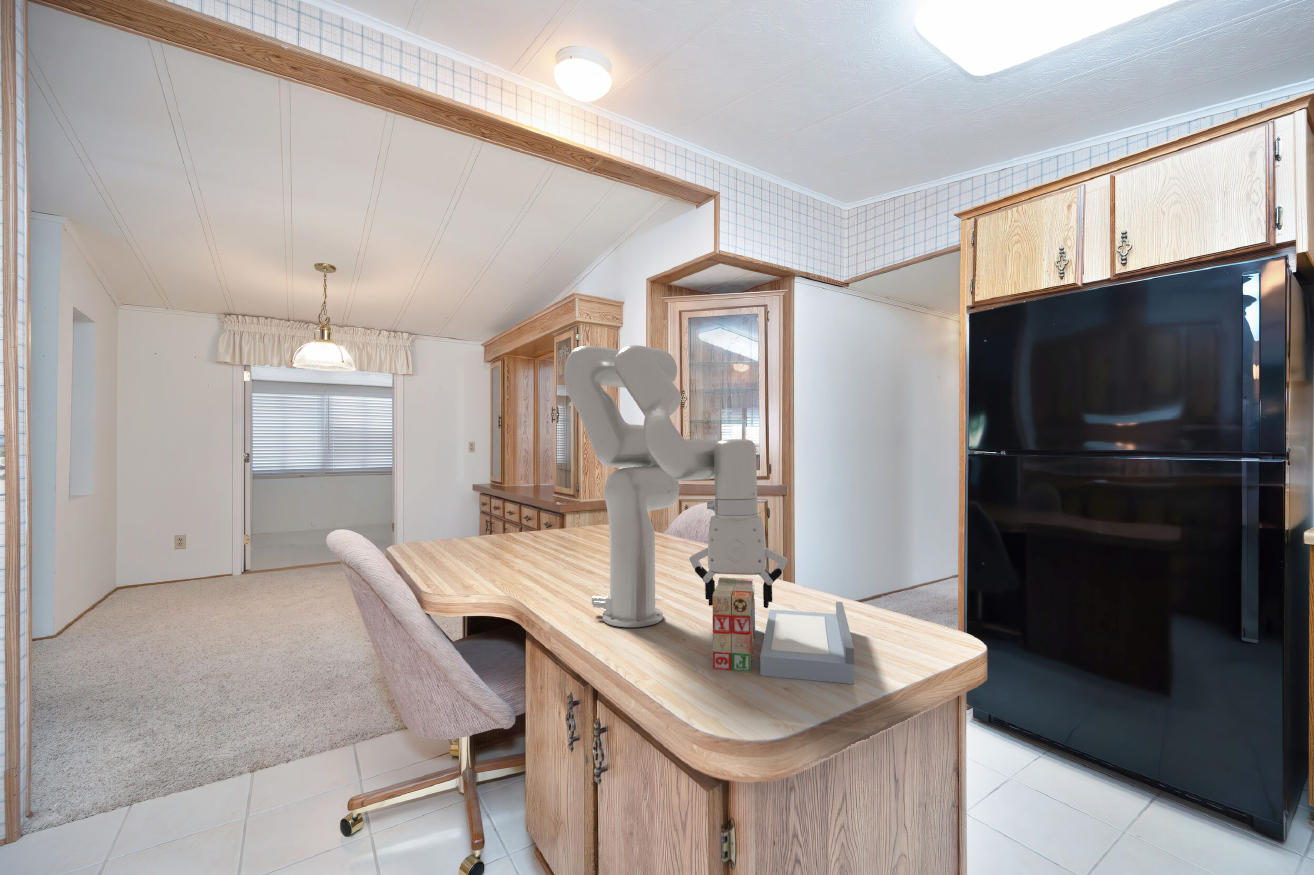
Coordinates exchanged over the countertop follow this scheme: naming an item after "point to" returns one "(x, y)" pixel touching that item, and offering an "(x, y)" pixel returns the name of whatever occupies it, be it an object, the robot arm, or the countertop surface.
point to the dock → (808, 646)
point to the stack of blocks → (733, 624)
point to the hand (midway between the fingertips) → (738, 604)
